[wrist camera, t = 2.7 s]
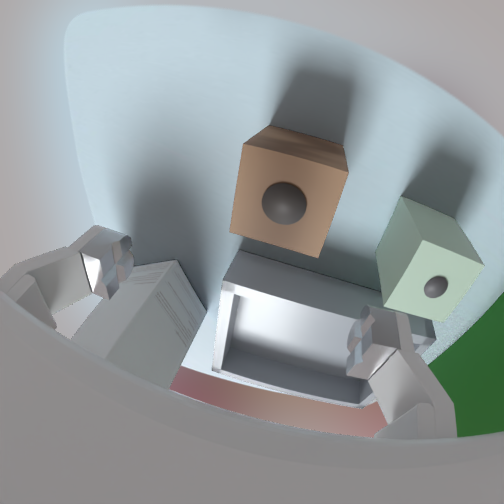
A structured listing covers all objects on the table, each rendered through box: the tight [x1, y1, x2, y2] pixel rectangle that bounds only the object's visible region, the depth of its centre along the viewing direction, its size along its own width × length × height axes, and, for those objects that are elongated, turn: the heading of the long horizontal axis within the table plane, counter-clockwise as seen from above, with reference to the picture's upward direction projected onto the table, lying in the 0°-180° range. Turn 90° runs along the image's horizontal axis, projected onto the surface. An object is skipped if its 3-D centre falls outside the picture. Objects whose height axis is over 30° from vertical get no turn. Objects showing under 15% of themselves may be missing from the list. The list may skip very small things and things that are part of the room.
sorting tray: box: [212, 250, 436, 409], centre depth 25 cm, size 18×14×4 cm
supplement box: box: [71, 260, 207, 389], centre depth 24 cm, size 7×7×13 cm
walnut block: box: [229, 125, 349, 258], centre depth 16 cm, size 5×5×6 cm
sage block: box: [375, 196, 485, 323], centre depth 16 cm, size 5×5×6 cm
